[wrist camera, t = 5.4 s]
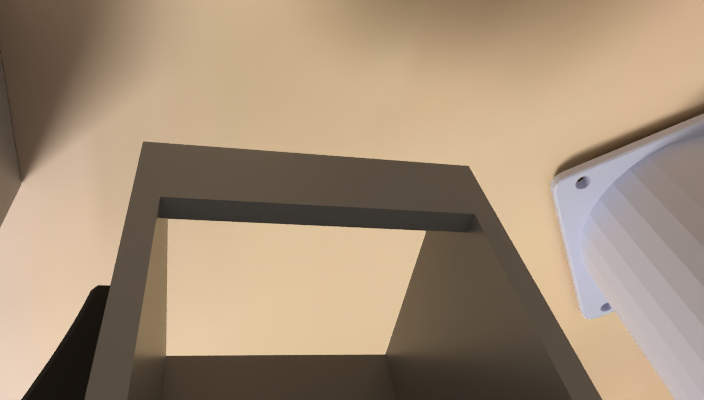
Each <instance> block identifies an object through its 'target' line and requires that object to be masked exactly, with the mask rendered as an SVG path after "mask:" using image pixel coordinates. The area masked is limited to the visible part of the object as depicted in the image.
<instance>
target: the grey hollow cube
mask: <svg viewBox="0 0 704 400" xmlns="http://www.w3.org/2000/svg"><path fill="white" fill-rule="evenodd" d="M168 219H189V220H210V221H232V222H253V223H275V224H296V225H318V226H339V227H361V228H382V229H404V230H425V231H426V234H425V237H424V240H423V243H422V246H421V249H420V252H419V255H418V258H417V261H416V264H415V267H414V270H413V273H412V276H411V279H410V283H409V286H408V289H407V292H406V295H405V298H404V301H403V304H402V307H401V310H400V313H399V316H398V319H397V322H396V325H395V328H394V331H393V334H392V337H391V340H390V343H389V346H388V349H387V352H386V355H246V356H166V312H167V231H168ZM84 400H602V399H601V397H600V395H599V393H598V392H597V390H596V388H595V386H594V385H593V383H592V381H591V379H590V378H589V376H588V374H587V372H586V371H585V369H584V367H583V365H582V364H581V362H580V360H579V358H578V357H577V355H576V353H575V351H574V350H573V348H572V346H571V344H570V343H569V341H568V339H567V337H566V336H565V334H564V332H563V330H562V329H561V327H560V325H559V323H558V322H557V320H556V318H555V316H554V315H553V313H552V311H551V309H550V308H549V306H548V304H547V302H546V301H545V299H544V297H543V295H542V294H541V292H540V290H539V288H538V287H537V285H536V283H535V281H534V280H533V278H532V276H531V275H530V273H529V271H528V269H527V268H526V266H525V264H524V262H523V261H522V259H521V257H520V255H519V254H518V252H517V250H516V248H515V247H514V245H513V243H512V241H511V240H510V238H509V236H508V234H507V233H506V231H505V229H504V227H503V226H502V224H501V222H500V220H499V219H498V217H497V215H496V213H495V212H494V210H493V208H492V206H491V205H490V203H489V201H488V199H487V198H486V196H485V194H484V192H483V191H482V189H481V187H480V185H479V184H478V182H477V180H476V178H475V177H474V175H473V173H472V171H471V170H470V168H469V166H460V165H447V164H434V163H421V162H407V161H394V160H381V159H368V158H354V157H341V156H328V155H315V154H301V153H288V152H275V151H261V150H248V149H235V148H222V147H208V146H195V145H182V144H169V143H155V142H143V145H142V149H141V154H140V158H139V162H138V167H137V171H136V176H135V180H134V184H133V189H132V193H131V197H130V202H129V206H128V211H127V215H126V219H125V224H124V228H123V233H122V237H121V241H120V246H119V250H118V254H117V259H116V263H115V268H114V272H113V276H112V281H111V285H110V290H109V294H108V298H107V303H106V307H105V311H104V316H103V320H102V325H101V329H100V333H99V338H98V342H97V347H96V351H95V355H94V360H93V364H92V368H91V373H90V377H89V382H88V386H87V390H86V395H85V399H84Z"/></svg>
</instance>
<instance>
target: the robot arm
mask: <svg viewBox="0 0 704 400" xmlns="http://www.w3.org/2000/svg"><path fill="white" fill-rule="evenodd" d="M584 176H585V177H584ZM581 177H584V178H583V179H582V180H581V181H579V182H577V180H578V179H580V178H581ZM550 189H551V193H552V197H553V202H554V206H555V210H556V214H557V218H558V223H559V227H560V231H561V235H562V239H563V243H564V248H565V252H566V256H567V260H568V264H569V269H570V273H571V277H572V281H573V285H574V290H575V294H576V298H577V302H578V306H579V310H580V312H581V313H582V315H583V316H584V318H586V319H595V318H598V317H600V316H603V315H606V314H608V313H611V312H613V311H615V313H616V314H617V316H618V317H619V319H620V320H621V322H622V323H623V325H624V326H625V328H626V329H627V330H628V332H629V333H630V335H631V336H632V338H633V339H634V341H635V342H636V344H637V345H638V347H639V348H640V349H641V351H642V352H643V354H644V355H645V357H646V358H647V360H648V361H649V363H650V364H651V366H652V367H653V368H654V370H655V371H656V373H657V374H658V376H659V377H660V379H661V380H662V382H663V383H664V385H665V386H666V388H667V389H668V390H669V392H670V393H671V395H672V396H673V398H674V399H675V400H704V113H703V114H701V115H698V116H696V117H693V118H691V119H689V120H686V121H684V122H681V123H679V124H677V125H674V126H672V127H669V128H667V129H665V130H662V131H660V132H657V133H655V134H652V135H650V136H648V137H645V138H643V139H640V140H638V141H636V142H633V143H631V144H628V145H626V146H623V147H621V148H619V149H616V150H614V151H611V152H609V153H607V154H604V155H602V156H599V157H597V158H595V159H592V160H590V161H587V162H585V163H582V164H580V165H578V166H575V167H573V168H570V169H568V170H566V171H563V172H561V173H559V174H558V175H556V176H555V177H554V178H553V180H552V182H551V184H550ZM109 290H110V286H103V285H98V286H97V287H95V288H94V289H92V290H91V292H90V294H89V295H88V297H87V299H86V301H85V303H84V305H83V307H82V309H81V310H80V312H79V314H78V316H77V317H76V319H75V321H74V322H73V324H72V326H71V327H70V329H69V331H68V332H67V334H66V335H65V337H64V338H63V340H62V342H61V343H60V345H59V346H58V348H57V349H56V351H55V352H54V354H53V355H52V357H51V358H50V360H49V361H48V363H47V364H46V365H45V367H44V368H43V370H42V371H41V373H40V374H39V375H38V377H37V378H36V380H35V381H34V383H33V384H32V385H31V387H30V388H29V390H28V391H27V393H26V394H25V395H24V397H23V398H22V399H21V400H84V399H85V395H86V390H87V386H88V382H89V377H90V373H91V368H92V364H93V360H94V355H95V351H96V347H97V342H98V338H99V333H100V329H101V325H102V320H103V316H104V311H105V307H106V303H107V298H108V294H109Z"/></svg>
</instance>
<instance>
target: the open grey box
mask: <svg viewBox="0 0 704 400" xmlns="http://www.w3.org/2000/svg"><path fill="white" fill-rule="evenodd" d="M20 186H21V179H20V172H19V166H18V160H17V154H16V147H15V141H14V135H13V128H12V122H11V116H10V109H9V103H8V97H7V91H6V84H5V78H4V72H3V65H2V59H1V53H0V227H1V225H2V223H3V221H4V218H5V216H6V214H7V212H8V210H9V208H10V206H11V204H12V202H13V200H14V198H15V196H16V194H17V192H18V190H19V188H20Z"/></svg>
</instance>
